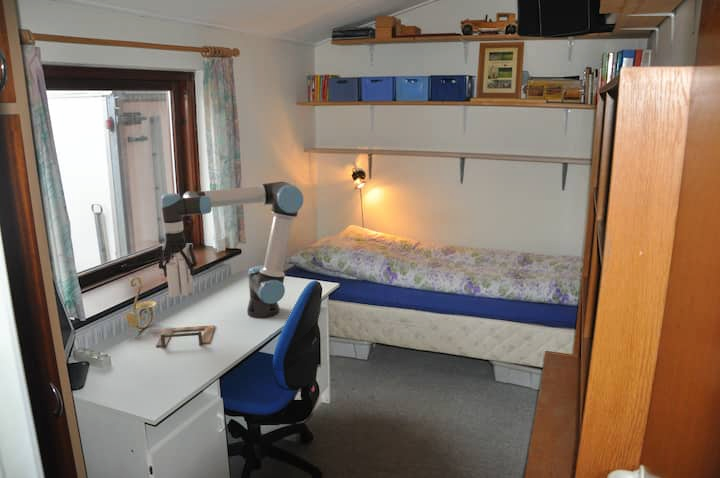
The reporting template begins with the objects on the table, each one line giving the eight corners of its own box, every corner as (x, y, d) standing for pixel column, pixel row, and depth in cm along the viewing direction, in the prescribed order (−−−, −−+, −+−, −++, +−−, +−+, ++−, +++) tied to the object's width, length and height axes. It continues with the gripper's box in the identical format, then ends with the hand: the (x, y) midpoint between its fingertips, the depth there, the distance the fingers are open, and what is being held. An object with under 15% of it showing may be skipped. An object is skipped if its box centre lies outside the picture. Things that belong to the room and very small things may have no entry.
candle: (183, 287, 246) (179, 243, 241) (197, 289, 244) (193, 244, 239) (166, 296, 236) (161, 250, 231) (181, 298, 234) (176, 252, 229)
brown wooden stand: (215, 326, 256) (214, 314, 254) (209, 345, 237) (207, 332, 236) (165, 330, 254) (163, 317, 252) (155, 348, 235) (153, 335, 233)
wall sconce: (142, 335, 248) (135, 282, 242) (125, 333, 251) (117, 280, 245) (163, 323, 261) (157, 272, 254) (146, 321, 264) (140, 270, 257)
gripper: (201, 227, 238) (206, 278, 244) (150, 230, 236) (156, 281, 242) (198, 232, 231) (203, 284, 236) (146, 234, 229) (152, 287, 234)
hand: (180, 283), depth 239 cm, fingers closed on candle, 8 cm apart
